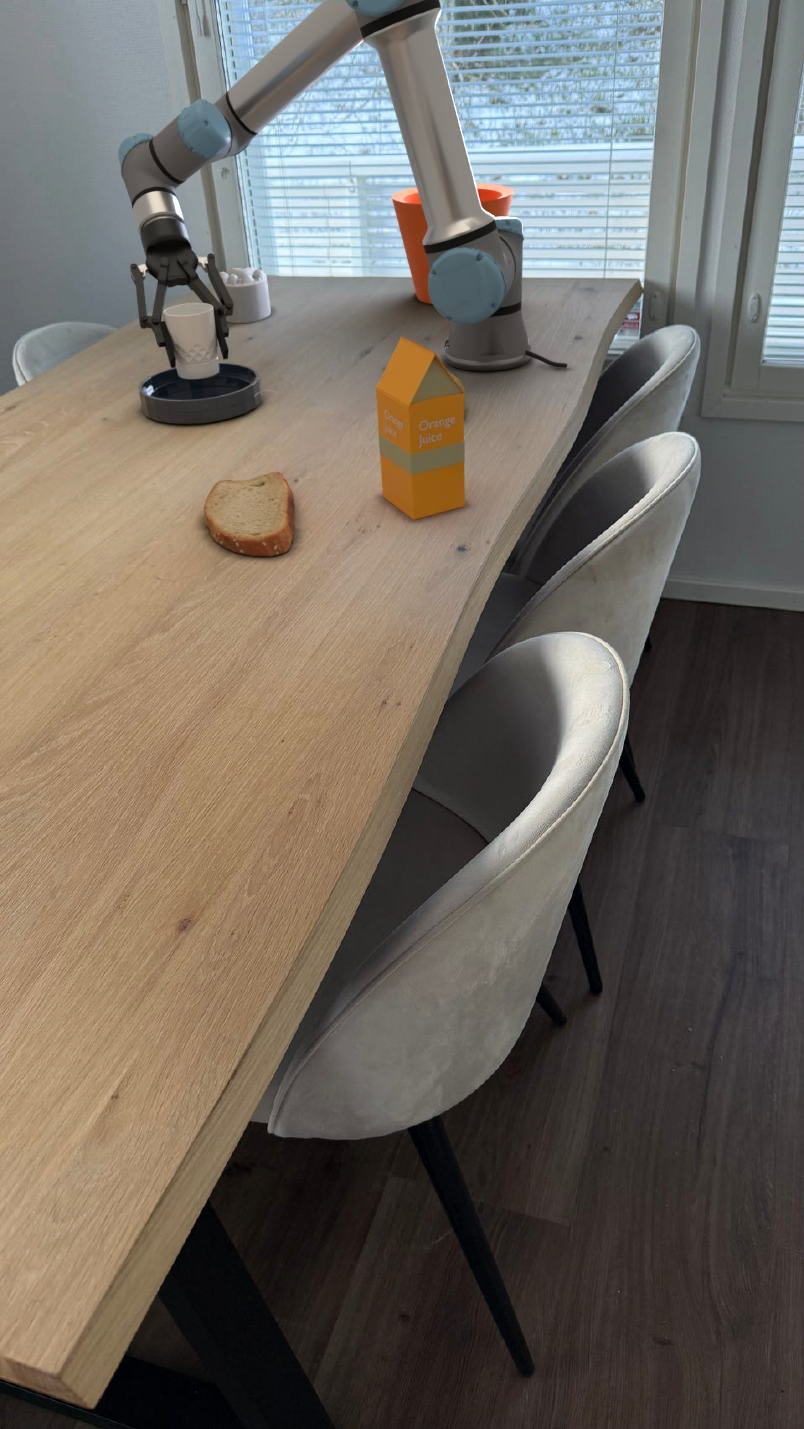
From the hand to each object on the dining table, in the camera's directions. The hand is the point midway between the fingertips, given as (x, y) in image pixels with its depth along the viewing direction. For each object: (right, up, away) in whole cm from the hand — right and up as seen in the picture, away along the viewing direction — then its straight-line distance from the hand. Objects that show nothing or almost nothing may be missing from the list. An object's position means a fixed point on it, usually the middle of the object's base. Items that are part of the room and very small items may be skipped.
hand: (199, 358), depth 157 cm
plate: (-1, -5, +8) cm, 9 cm away
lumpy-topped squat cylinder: (-1, +28, +53) cm, 60 cm away
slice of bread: (+14, -31, -30) cm, 45 cm away
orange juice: (+35, -29, -27) cm, 53 cm away
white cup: (-1, -1, +5) cm, 5 cm away
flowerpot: (+43, +34, +58) cm, 80 cm away
